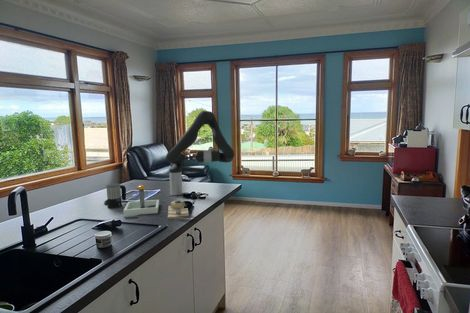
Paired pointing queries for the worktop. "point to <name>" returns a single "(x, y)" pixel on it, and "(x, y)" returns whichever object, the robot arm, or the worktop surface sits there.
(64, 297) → the worktop surface
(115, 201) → the milk frother
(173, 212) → the pulley board
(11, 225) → the worktop surface
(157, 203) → the tray
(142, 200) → the lock pin
